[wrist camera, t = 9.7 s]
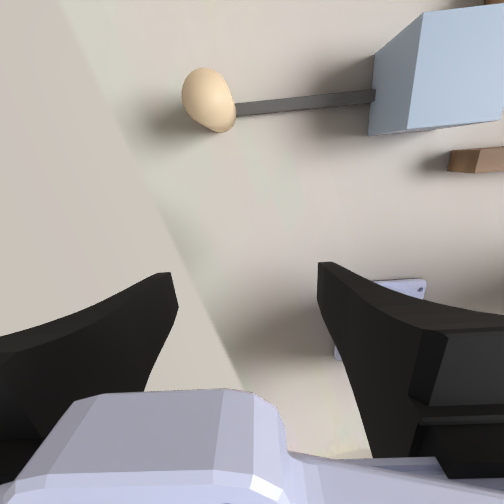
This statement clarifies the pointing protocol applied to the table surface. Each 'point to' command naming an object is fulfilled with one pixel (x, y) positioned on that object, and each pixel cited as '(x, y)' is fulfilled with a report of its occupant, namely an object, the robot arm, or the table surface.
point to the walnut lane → (478, 151)
